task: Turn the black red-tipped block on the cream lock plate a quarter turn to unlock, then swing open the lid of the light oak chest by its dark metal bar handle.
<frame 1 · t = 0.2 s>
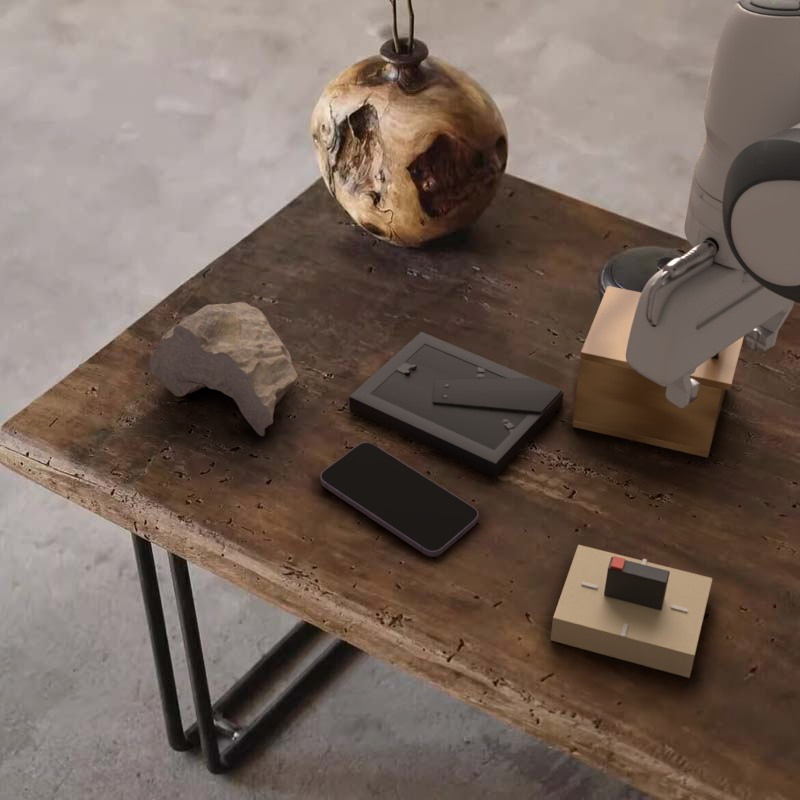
hand: (720, 372, 99), 27 cm above the table, tool pointing down, fingers open, 8 cm apart
rock: (246, 387, 140), on the table
smartphone: (398, 503, 126), on the table
black red-tipped block: (636, 582, 112), point 5 cm above the table, hinge at 0.0°
picture frame: (455, 409, 137), on the table
lock plate: (630, 620, 115), on the table
chest: (650, 406, 137), on the table
chest lid: (668, 320, 130), point 11 cm above the table, hinge at 0.0°
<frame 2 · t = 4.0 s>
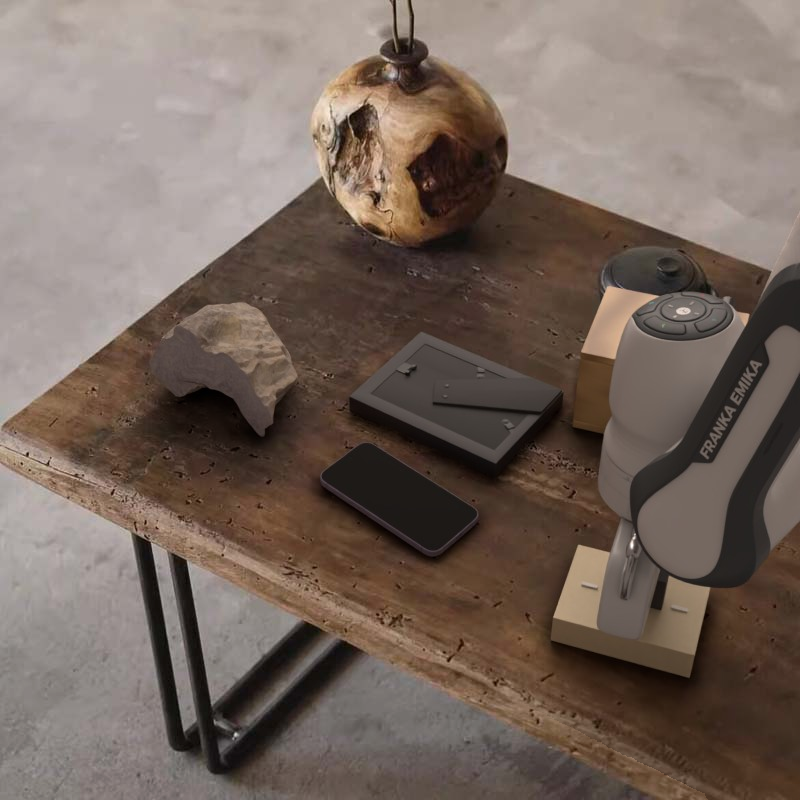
hand: (635, 590, 113), 4 cm above the table, tool pointing down, fingers closed on black red-tipped block
black red-tipped block: (636, 582, 112), point 5 cm above the table, hinge at 0.2°, touching gripper
everything else where it was.
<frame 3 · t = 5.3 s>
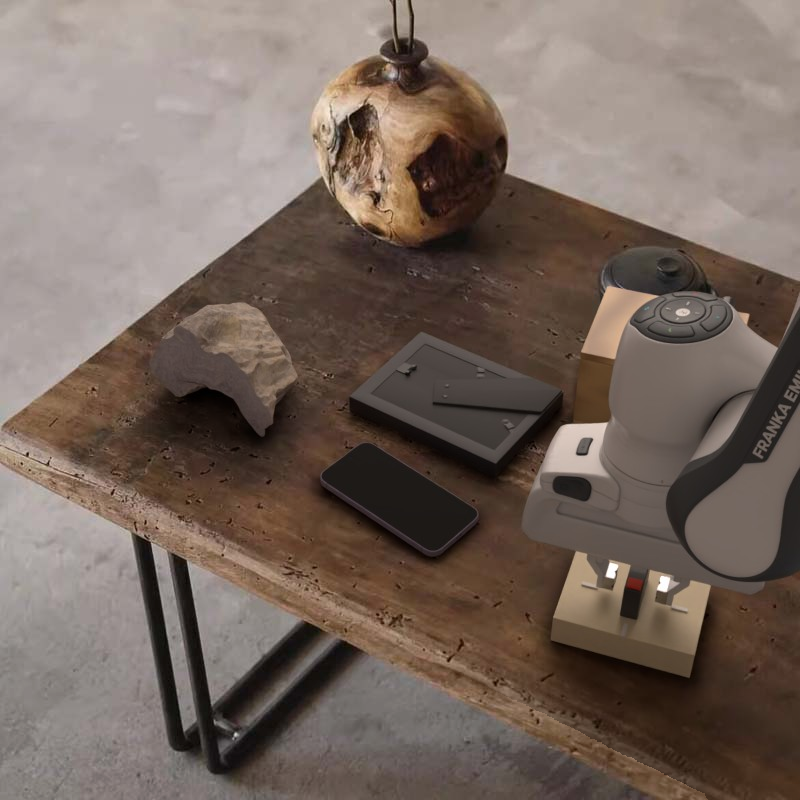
hand: (635, 591, 113), 4 cm above the table, tool pointing down, fingers open, 4 cm apart
black red-tipped block: (636, 582, 112), point 5 cm above the table, hinge at 90.2°
everything else where it was.
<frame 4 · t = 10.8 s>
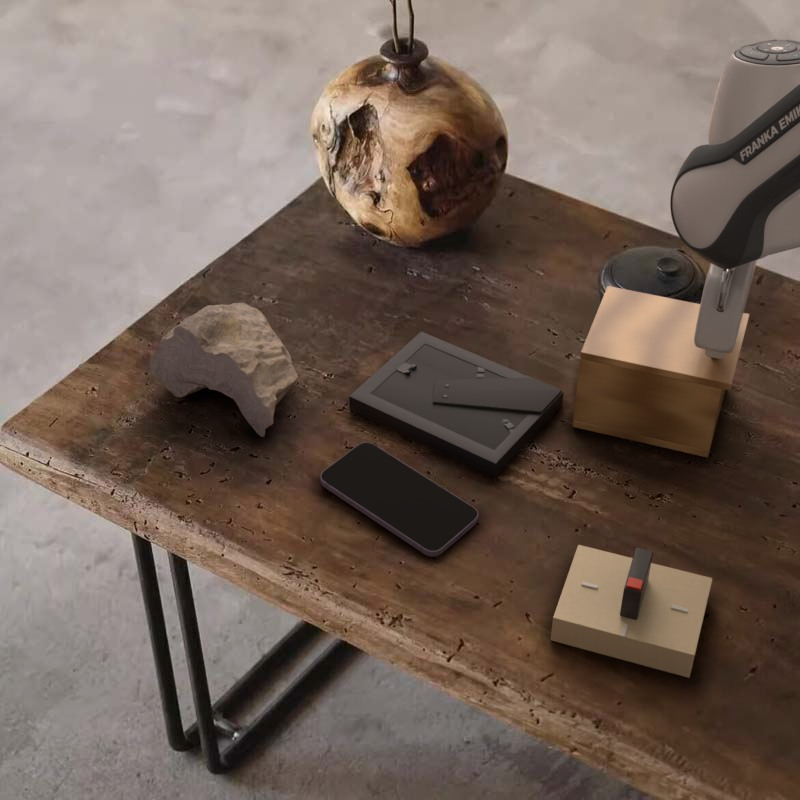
hand: (720, 332, 128), 11 cm above the table, tool pointing down, fingers closed on chest lid, 5 cm apart
chest lid: (668, 320, 130), point 11 cm above the table, hinge at 0.0°, touching gripper
everything else where it was.
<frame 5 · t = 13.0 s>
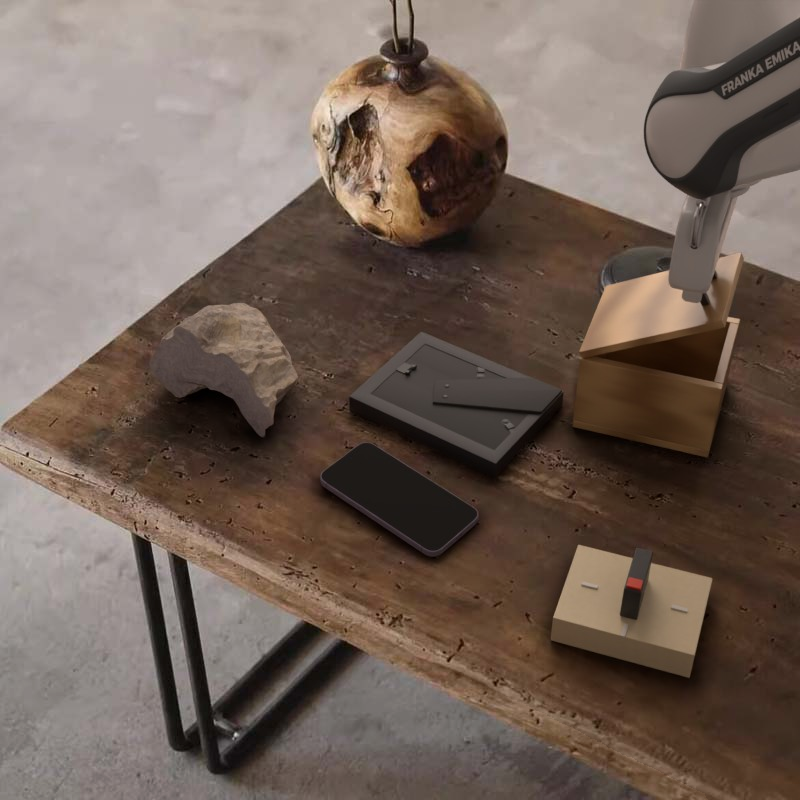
hand: (698, 278, 125), 17 cm above the table, tool pointing down, fingers closed on chest lid, 5 cm apart
chest lid: (654, 289, 128), point 15 cm above the table, hinge at 28.9°, touching gripper
everything else where it was.
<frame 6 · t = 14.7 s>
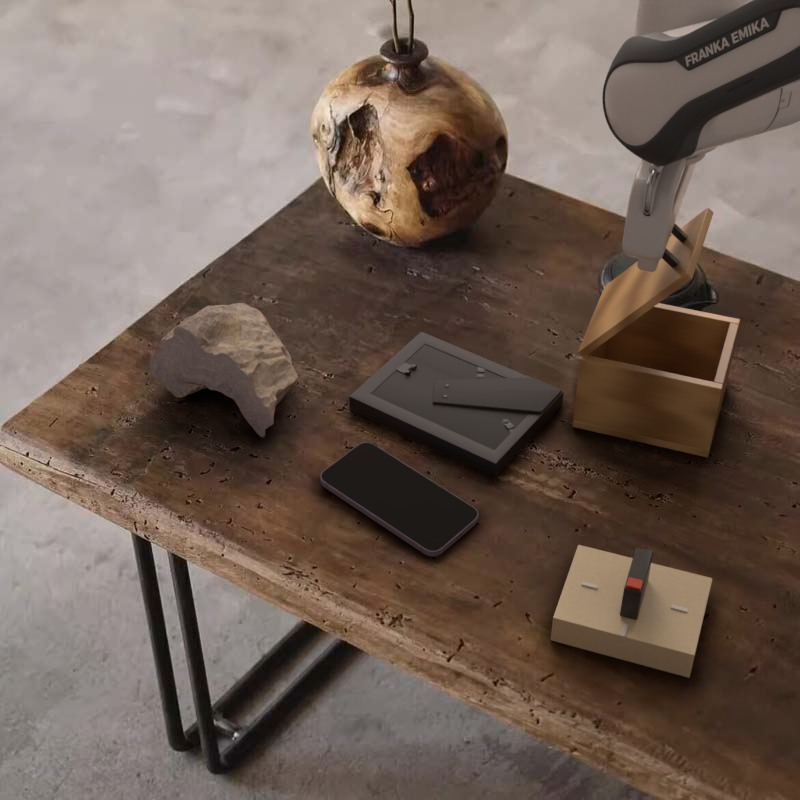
hand: (655, 246, 125), 19 cm above the table, tool pointing down, fingers closed on chest lid, 5 cm apart
chest lid: (631, 269, 127), point 16 cm above the table, hinge at 52.0°, touching gripper
everything else where it was.
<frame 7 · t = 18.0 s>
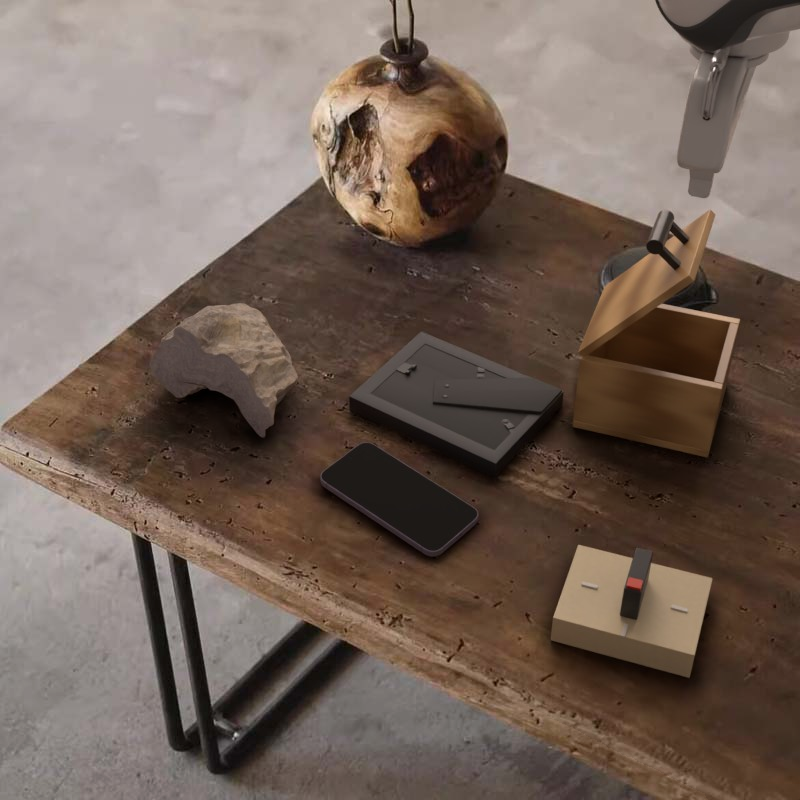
hand: (708, 165, 113), 31 cm above the table, tool pointing down, fingers open, 8 cm apart
chest lid: (632, 270, 127), point 16 cm above the table, hinge at 50.8°
everything else where it was.
at the end: black red-tipped block at +90° (first picture: +0°); chest lid at +51° (first picture: +0°) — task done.
